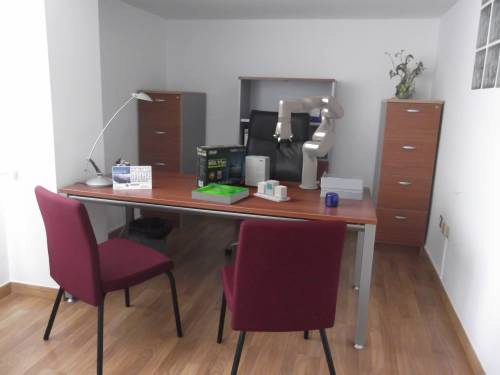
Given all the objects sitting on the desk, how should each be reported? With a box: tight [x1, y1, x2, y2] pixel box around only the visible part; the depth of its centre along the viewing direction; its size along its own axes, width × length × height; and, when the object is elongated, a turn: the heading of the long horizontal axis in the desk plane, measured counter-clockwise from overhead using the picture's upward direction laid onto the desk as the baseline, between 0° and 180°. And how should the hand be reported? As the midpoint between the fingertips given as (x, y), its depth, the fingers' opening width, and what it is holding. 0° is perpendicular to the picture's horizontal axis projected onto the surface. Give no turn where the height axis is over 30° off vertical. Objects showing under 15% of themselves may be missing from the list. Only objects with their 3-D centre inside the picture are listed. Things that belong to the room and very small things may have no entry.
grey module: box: [266, 179, 280, 196], centre depth 247 cm, size 5×6×8 cm
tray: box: [191, 184, 250, 205], centre depth 244 cm, size 25×25×5 cm
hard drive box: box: [244, 155, 271, 187], centre depth 280 cm, size 16×8×20 cm, turn 63°
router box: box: [195, 144, 247, 188], centre depth 277 cm, size 36×11×27 cm, turn 134°
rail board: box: [253, 182, 291, 203], centre depth 247 cm, size 10×21×8 cm, turn 44°
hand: (282, 148), depth 258 cm, fingers open, 9 cm apart
